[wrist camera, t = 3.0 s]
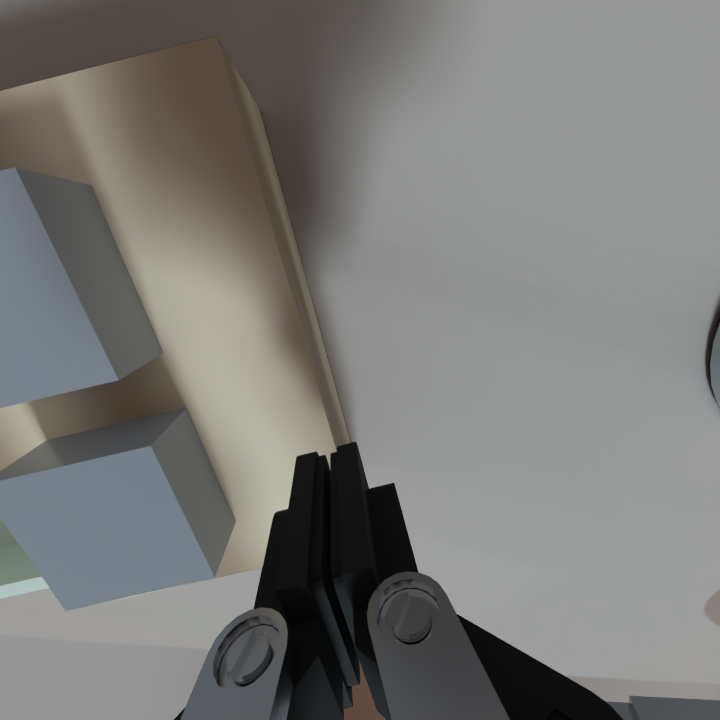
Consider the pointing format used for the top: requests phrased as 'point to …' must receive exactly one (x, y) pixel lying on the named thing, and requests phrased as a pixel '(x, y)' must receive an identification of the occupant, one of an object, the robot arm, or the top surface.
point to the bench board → (188, 271)
